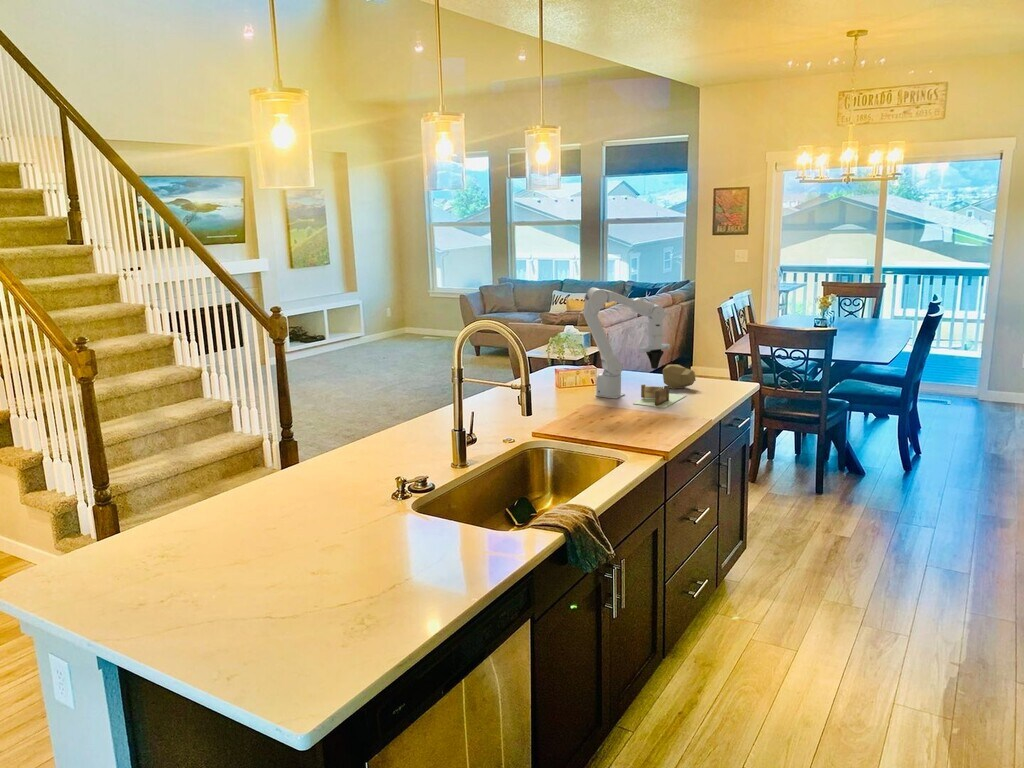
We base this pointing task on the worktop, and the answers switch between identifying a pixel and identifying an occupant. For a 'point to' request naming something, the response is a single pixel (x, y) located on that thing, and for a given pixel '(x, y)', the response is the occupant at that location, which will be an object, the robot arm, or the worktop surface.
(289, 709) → the worktop surface
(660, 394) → the fixed fence
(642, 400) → the board
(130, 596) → the worktop surface
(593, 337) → the robot arm
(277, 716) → the worktop surface
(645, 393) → the hinged panel
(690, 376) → the low-poly potato
